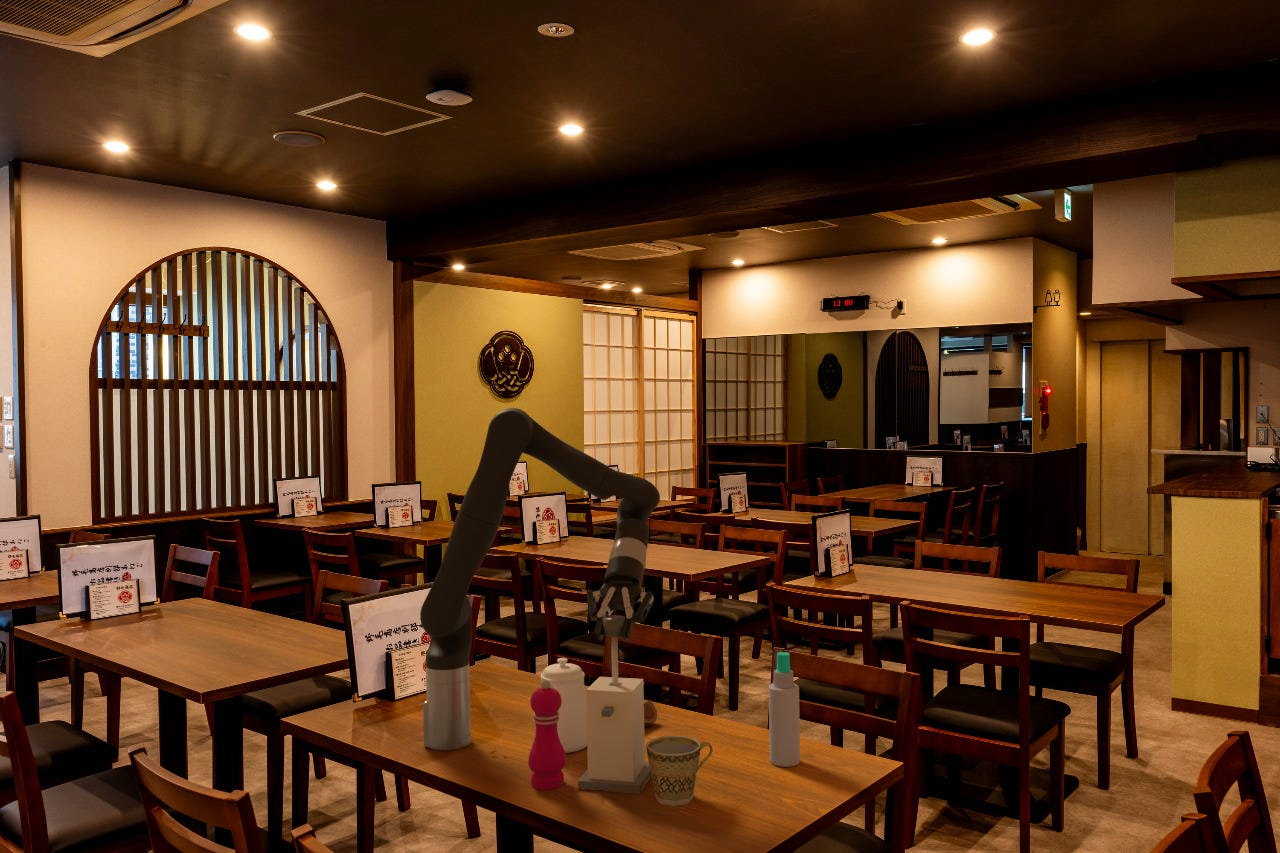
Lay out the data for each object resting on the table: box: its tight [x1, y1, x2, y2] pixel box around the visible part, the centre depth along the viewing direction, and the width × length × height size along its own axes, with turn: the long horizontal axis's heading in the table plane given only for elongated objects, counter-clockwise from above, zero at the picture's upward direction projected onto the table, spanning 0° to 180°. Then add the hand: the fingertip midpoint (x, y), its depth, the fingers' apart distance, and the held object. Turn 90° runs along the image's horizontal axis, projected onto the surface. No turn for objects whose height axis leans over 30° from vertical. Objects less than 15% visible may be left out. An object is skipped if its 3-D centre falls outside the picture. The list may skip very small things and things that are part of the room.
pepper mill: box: [528, 680, 567, 790], centre depth 182 cm, size 7×7×20 cm
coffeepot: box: [540, 657, 587, 754], centre depth 202 cm, size 11×25×19 cm, turn 168°
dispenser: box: [577, 676, 652, 795], centre depth 183 cm, size 12×13×18 cm
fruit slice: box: [644, 699, 658, 728], centre depth 214 cm, size 8×7×5 cm
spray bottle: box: [768, 651, 801, 768], centre depth 191 cm, size 6×6×22 cm
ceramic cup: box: [645, 735, 713, 807], centre depth 174 cm, size 13×10×10 cm
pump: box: [603, 614, 626, 686], centre depth 183 cm, size 4×4×21 cm
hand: (611, 638), depth 181 cm, fingers closed on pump, 4 cm apart
